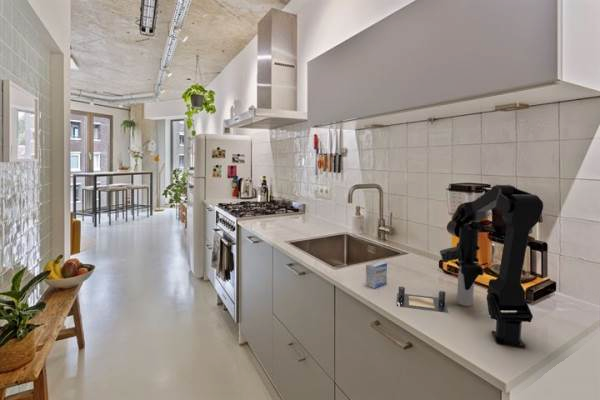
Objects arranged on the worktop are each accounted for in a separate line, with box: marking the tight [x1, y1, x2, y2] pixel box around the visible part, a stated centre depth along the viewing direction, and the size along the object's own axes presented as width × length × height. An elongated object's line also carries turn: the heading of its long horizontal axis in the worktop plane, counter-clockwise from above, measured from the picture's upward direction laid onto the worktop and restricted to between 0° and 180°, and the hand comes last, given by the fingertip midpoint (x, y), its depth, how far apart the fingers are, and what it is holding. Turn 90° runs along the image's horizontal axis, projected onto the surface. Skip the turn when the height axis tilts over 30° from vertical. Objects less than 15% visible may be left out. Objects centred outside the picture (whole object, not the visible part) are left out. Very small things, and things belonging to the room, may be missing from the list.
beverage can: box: [456, 267, 475, 308], centre depth 111 cm, size 5×5×12 cm
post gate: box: [396, 286, 450, 314], centre depth 113 cm, size 12×16×5 cm
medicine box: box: [365, 260, 388, 289], centre depth 129 cm, size 8×4×9 cm, turn 131°
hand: (465, 286), depth 111 cm, fingers closed on beverage can, 5 cm apart
